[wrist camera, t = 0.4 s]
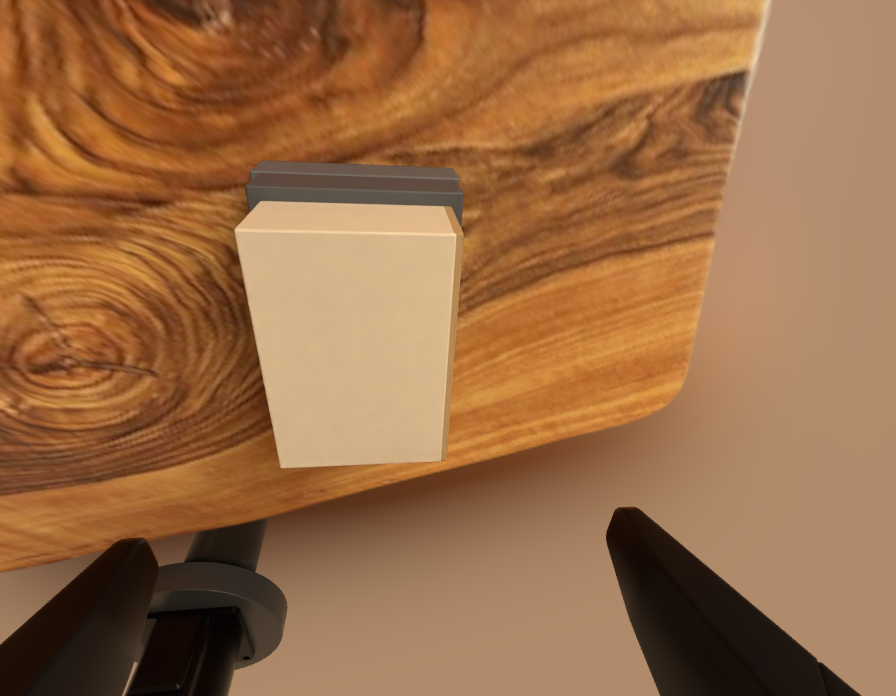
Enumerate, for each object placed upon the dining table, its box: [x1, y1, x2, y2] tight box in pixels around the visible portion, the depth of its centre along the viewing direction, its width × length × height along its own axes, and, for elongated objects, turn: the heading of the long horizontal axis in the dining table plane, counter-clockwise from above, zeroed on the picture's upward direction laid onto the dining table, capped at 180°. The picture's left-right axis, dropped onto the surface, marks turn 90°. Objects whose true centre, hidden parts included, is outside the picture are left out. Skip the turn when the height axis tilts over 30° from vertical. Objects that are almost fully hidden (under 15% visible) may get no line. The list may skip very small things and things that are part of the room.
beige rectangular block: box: [234, 201, 464, 468], centre depth 16 cm, size 9×6×3 cm
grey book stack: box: [245, 161, 464, 227], centre depth 19 cm, size 10×8×4 cm
